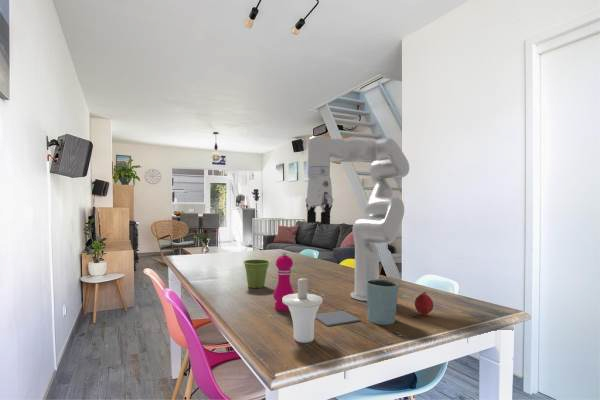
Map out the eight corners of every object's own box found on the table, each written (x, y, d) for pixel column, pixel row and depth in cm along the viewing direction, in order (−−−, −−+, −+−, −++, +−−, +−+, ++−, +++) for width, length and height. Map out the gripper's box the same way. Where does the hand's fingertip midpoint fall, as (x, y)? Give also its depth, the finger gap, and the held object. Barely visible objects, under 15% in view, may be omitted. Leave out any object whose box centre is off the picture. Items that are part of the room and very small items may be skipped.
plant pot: (239, 289, 143) (239, 263, 143) (247, 283, 155) (248, 258, 155) (265, 290, 141) (266, 264, 141) (272, 284, 153) (272, 259, 153)
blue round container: (363, 314, 111) (363, 278, 111) (393, 315, 110) (394, 279, 111) (368, 325, 101) (369, 285, 101) (402, 326, 100) (402, 286, 101)
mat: (342, 311, 113) (342, 310, 113) (360, 321, 104) (360, 319, 104) (311, 316, 108) (311, 314, 108) (327, 326, 99) (327, 324, 99)
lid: (310, 294, 97) (311, 274, 98) (330, 304, 88) (330, 281, 88) (276, 298, 93) (276, 277, 93) (292, 309, 83) (292, 285, 83)
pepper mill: (291, 311, 112) (292, 253, 113) (270, 310, 114) (271, 252, 114) (295, 305, 120) (296, 250, 120) (276, 304, 121) (277, 249, 121)
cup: (327, 340, 89) (327, 302, 89) (298, 348, 83) (299, 308, 84) (307, 329, 96) (308, 295, 96) (280, 336, 91) (280, 300, 91)
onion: (424, 319, 107) (424, 294, 107) (410, 314, 112) (411, 290, 112) (437, 316, 109) (437, 292, 110) (423, 312, 114) (423, 288, 115)
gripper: (342, 171, 106) (341, 224, 106) (316, 175, 122) (315, 222, 121) (321, 170, 103) (321, 225, 102) (297, 174, 118) (297, 222, 118)
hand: (318, 223), depth 112 cm, fingers open, 9 cm apart
